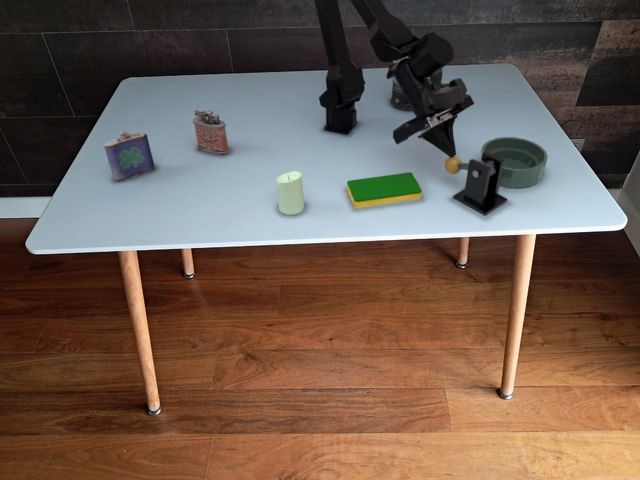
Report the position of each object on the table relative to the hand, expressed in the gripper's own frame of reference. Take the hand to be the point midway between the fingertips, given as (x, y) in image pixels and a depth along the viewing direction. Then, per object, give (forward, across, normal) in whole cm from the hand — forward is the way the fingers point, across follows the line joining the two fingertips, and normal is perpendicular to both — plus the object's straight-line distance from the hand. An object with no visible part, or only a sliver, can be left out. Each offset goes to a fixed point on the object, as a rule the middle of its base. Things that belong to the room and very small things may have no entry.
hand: (453, 156), depth 118 cm
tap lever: (+5, 0, -1) cm, 5 cm away
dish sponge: (0, -12, +10) cm, 16 cm away
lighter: (-28, -29, +38) cm, 55 cm away
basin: (+9, +13, +1) cm, 16 cm away
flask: (-30, -47, +40) cm, 69 cm away
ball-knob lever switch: (+10, 0, 0) cm, 11 cm away
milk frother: (-16, +25, +27) cm, 40 cm away
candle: (-6, -29, +17) cm, 34 cm away
